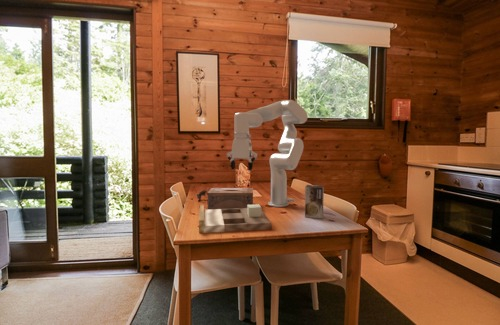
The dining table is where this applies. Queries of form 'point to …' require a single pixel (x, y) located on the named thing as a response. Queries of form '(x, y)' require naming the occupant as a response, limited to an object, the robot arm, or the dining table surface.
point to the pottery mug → (202, 194)
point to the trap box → (230, 220)
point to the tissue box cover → (229, 198)
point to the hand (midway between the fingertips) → (241, 169)
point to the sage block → (254, 210)
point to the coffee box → (314, 201)
